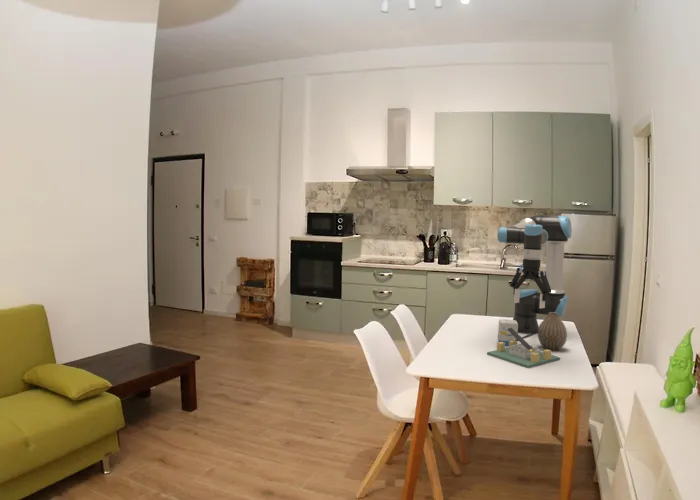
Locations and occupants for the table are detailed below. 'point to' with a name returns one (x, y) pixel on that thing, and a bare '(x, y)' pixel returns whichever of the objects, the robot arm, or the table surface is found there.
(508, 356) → the board
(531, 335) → the strap
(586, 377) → the table surface
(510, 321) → the ink box
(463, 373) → the table surface
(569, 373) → the table surface
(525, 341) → the strap
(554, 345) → the vase
